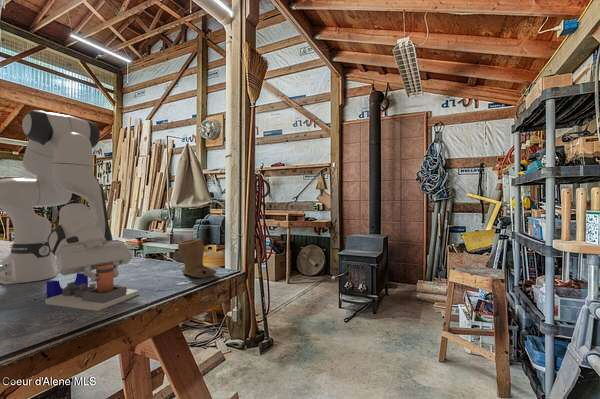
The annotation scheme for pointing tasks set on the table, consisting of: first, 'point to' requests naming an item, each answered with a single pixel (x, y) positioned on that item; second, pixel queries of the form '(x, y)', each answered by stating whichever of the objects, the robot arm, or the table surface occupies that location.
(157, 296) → the table surface
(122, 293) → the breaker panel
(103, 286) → the lockout cap
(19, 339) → the table surface
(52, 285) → the blue u-shaped piece
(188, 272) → the brown boot
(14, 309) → the table surface
